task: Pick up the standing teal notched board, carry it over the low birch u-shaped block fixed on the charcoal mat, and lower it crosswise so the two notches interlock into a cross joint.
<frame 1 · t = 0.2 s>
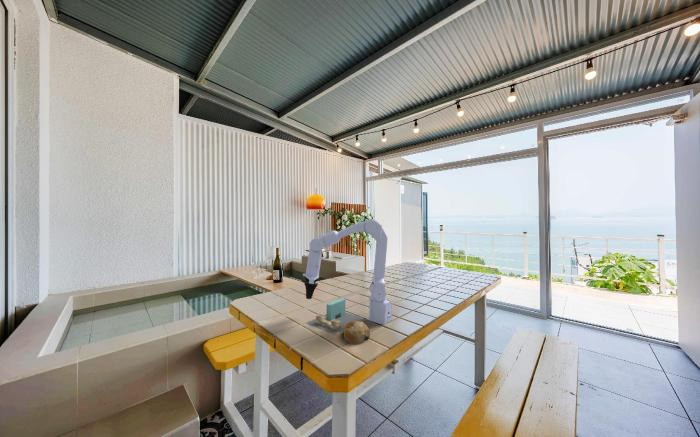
hand: (308, 295, 107), 10 cm above the table, tool pointing down, fingers open, 7 cm apart
mat: (335, 321, 105), on the table
birch u-shaped block: (328, 325, 100), resting on mat
teal board: (336, 317, 108), resting on mat
bread roll: (355, 339, 90), on the table
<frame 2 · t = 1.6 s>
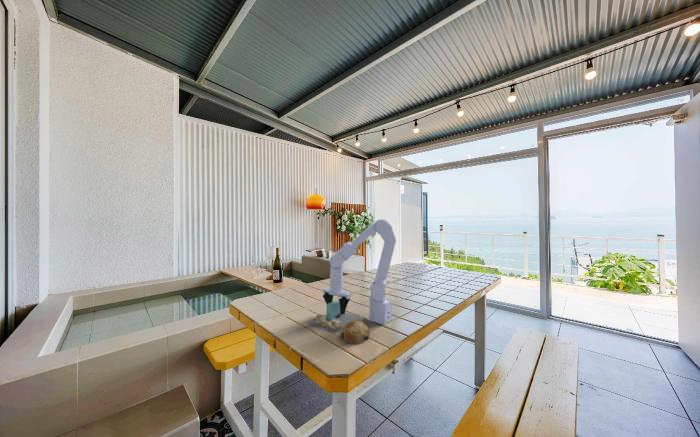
hand: (336, 311, 109), 3 cm above the table, tool pointing down, fingers open, 7 cm apart
nothing on the table moved.
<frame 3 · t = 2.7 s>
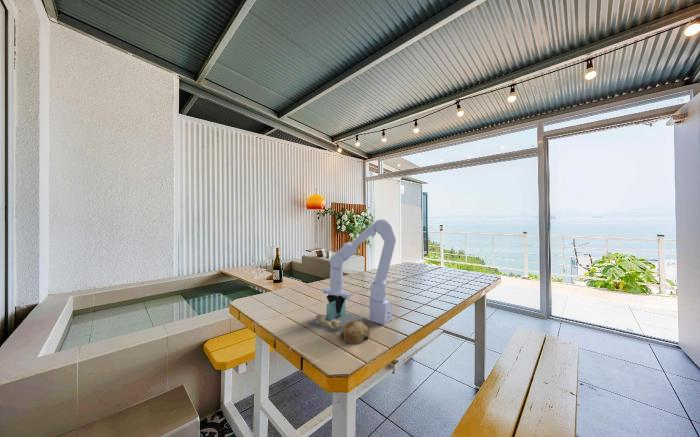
hand: (336, 312, 109), 3 cm above the table, tool pointing down, fingers closed on teal board, 2 cm apart
teal board: (336, 317, 108), resting on mat, touching gripper
everything else where it was.
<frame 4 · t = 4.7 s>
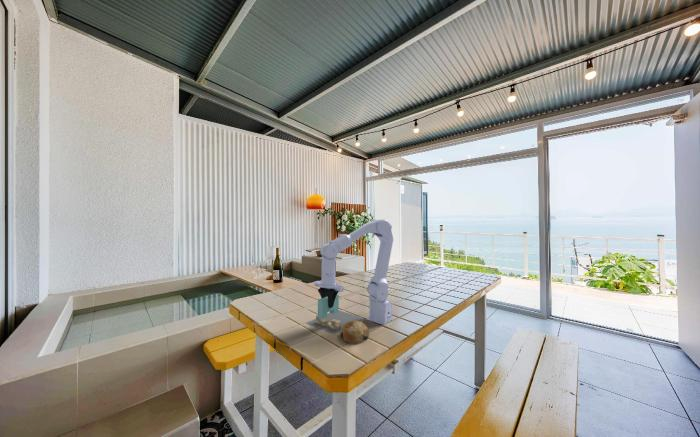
hand: (328, 306, 100), 8 cm above the table, tool pointing down, fingers closed on teal board, 2 cm apart
teal board: (328, 314, 100), point 5 cm above the table, touching gripper
everything else where it was.
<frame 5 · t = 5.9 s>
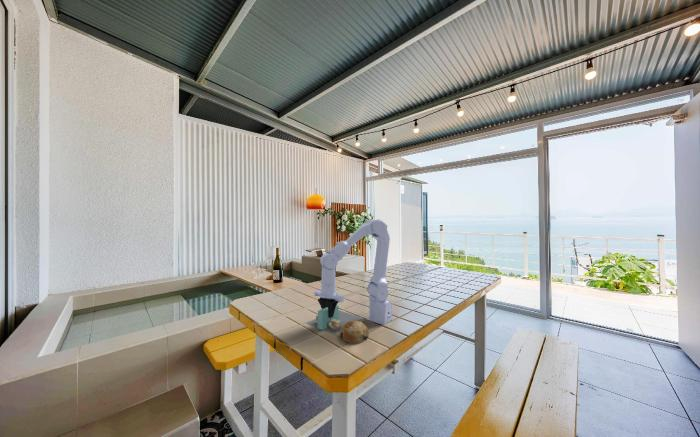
hand: (328, 316, 100), 4 cm above the table, tool pointing down, fingers closed on teal board, 2 cm apart
teal board: (328, 325, 100), resting on mat, touching gripper
everything else where it was.
when the fingers open (4 cm above the table, at t = 6.5 s): teal board stays where it is, resting on mat.
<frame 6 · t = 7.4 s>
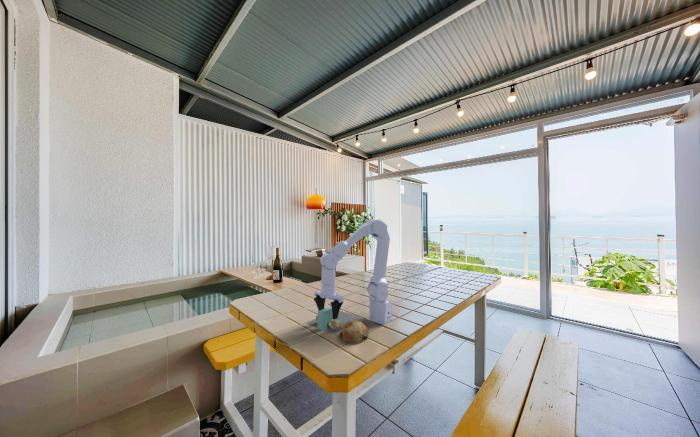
hand: (328, 316, 100), 4 cm above the table, tool pointing down, fingers open, 7 cm apart
teal board: (328, 325, 100), resting on mat
everything else where it was.
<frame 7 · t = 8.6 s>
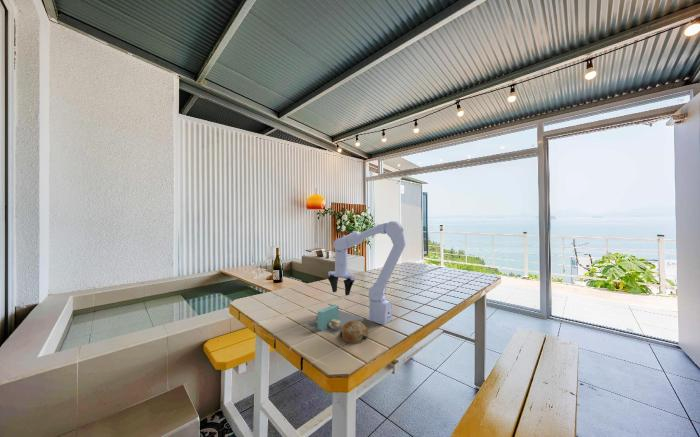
hand: (341, 293, 113), 10 cm above the table, tool pointing down, fingers open, 7 cm apart
nothing on the table moved.
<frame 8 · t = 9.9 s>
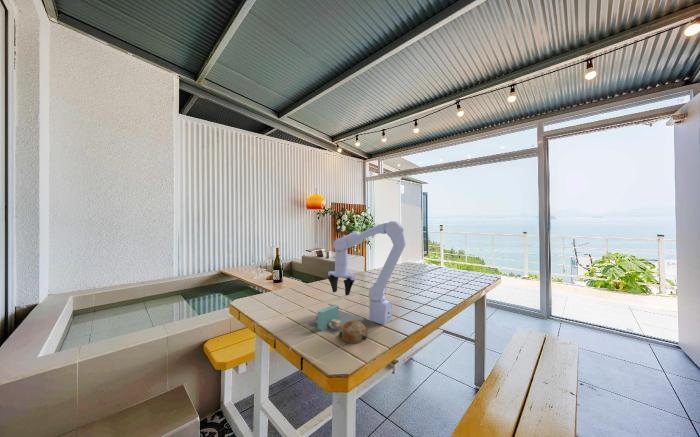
hand: (341, 293, 113), 10 cm above the table, tool pointing down, fingers open, 7 cm apart
nothing on the table moved.
at the end: teal board 0.1 cm from the target spot, resting on mat; teal board tilted 0°; the gripper is holding nothing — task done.
